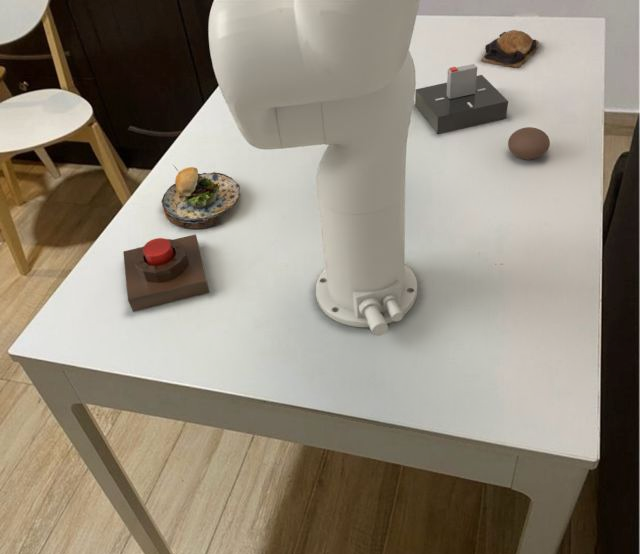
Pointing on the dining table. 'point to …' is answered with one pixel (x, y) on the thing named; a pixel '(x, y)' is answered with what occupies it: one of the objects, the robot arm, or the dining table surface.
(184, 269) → the block
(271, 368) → the dining table surface
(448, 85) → the grey flat block
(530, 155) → the brown flattened ball
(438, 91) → the panel
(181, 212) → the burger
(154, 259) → the red push button
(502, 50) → the bread roll
